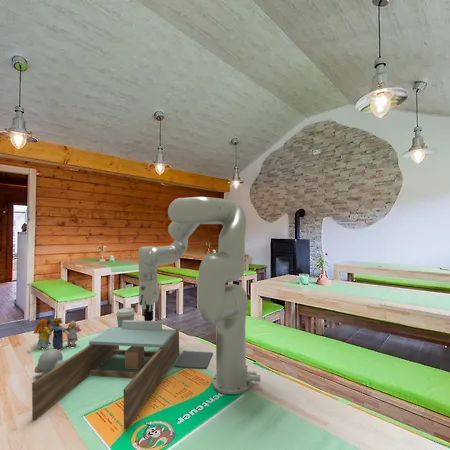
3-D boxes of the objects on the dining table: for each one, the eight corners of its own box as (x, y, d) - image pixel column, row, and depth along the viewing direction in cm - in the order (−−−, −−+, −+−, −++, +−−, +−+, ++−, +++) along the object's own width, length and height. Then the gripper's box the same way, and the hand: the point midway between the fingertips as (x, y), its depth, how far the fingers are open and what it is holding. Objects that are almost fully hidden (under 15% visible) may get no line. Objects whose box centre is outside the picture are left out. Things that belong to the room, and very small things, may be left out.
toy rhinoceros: (54, 391, 91) (61, 368, 90) (29, 372, 94) (36, 350, 93) (72, 379, 98) (79, 358, 97) (49, 362, 101) (55, 341, 100)
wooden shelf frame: (179, 353, 111) (178, 329, 111) (127, 428, 69) (127, 389, 69) (116, 350, 115) (116, 326, 115) (32, 419, 73) (32, 382, 73)
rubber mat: (212, 353, 110) (212, 352, 110) (206, 369, 98) (206, 367, 98) (183, 352, 112) (183, 351, 112) (173, 367, 100) (173, 365, 100)
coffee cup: (131, 338, 127) (131, 312, 127) (113, 338, 127) (112, 312, 127) (137, 331, 135) (137, 307, 136) (120, 331, 136) (120, 307, 136)
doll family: (83, 345, 121) (82, 315, 121) (67, 355, 111) (66, 322, 112) (41, 342, 124) (41, 313, 125) (22, 351, 115) (22, 320, 115)
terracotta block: (144, 362, 104) (144, 346, 104) (138, 369, 99) (137, 352, 99) (131, 361, 105) (131, 345, 105) (125, 368, 100) (124, 351, 100)
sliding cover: (175, 332, 107) (175, 321, 107) (162, 347, 93) (162, 335, 93) (111, 329, 111) (111, 319, 111) (89, 344, 97) (89, 332, 97)
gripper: (149, 279, 107) (149, 326, 107) (163, 273, 122) (164, 314, 121) (131, 279, 108) (131, 326, 108) (147, 273, 123) (147, 314, 123)
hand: (148, 320), depth 115 cm, fingers closed
